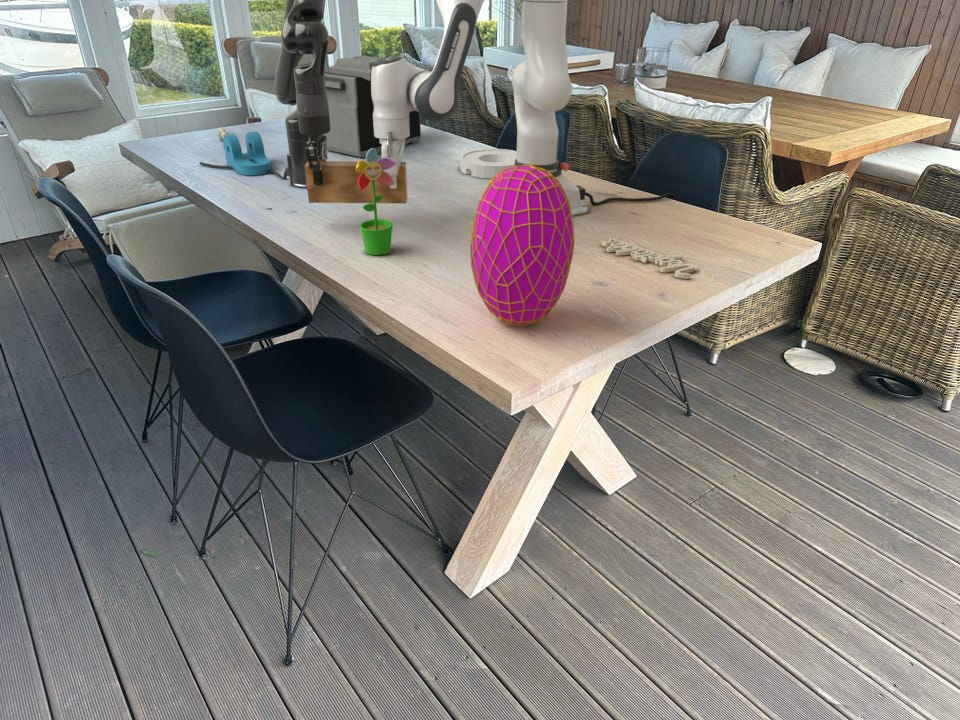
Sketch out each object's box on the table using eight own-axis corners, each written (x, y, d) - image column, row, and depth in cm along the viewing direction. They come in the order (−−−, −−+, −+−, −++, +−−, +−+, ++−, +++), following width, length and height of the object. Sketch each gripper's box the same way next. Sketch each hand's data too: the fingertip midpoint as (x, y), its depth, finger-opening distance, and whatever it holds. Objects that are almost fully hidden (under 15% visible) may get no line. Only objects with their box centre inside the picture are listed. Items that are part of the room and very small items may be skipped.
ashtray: (461, 159, 242) (461, 148, 240) (527, 160, 241) (527, 149, 239) (457, 177, 222) (457, 165, 220) (529, 179, 221) (529, 166, 219)
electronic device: (383, 133, 276) (378, 52, 261) (425, 141, 265) (422, 56, 250) (314, 150, 251) (304, 61, 235) (358, 160, 240) (350, 67, 224)
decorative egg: (525, 353, 124) (534, 190, 109) (449, 319, 135) (447, 167, 120) (586, 318, 136) (602, 167, 121) (512, 290, 148) (517, 148, 132)
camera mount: (227, 164, 233) (221, 132, 227) (257, 160, 238) (252, 129, 233) (244, 176, 220) (239, 143, 215) (276, 172, 225) (271, 139, 220)
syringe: (218, 132, 274) (216, 125, 272) (227, 131, 275) (226, 124, 274) (222, 147, 254) (220, 139, 252) (232, 146, 255) (231, 138, 254)
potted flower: (366, 259, 162) (357, 151, 149) (355, 248, 168) (346, 144, 155) (403, 252, 166) (398, 147, 153) (391, 242, 172) (385, 139, 159)
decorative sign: (710, 264, 159) (686, 276, 153) (709, 268, 159) (685, 280, 153) (618, 234, 175) (593, 244, 169) (618, 238, 176) (593, 247, 170)
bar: (308, 202, 175) (304, 165, 171) (312, 197, 179) (308, 160, 174) (406, 203, 176) (404, 166, 171) (407, 198, 180) (406, 161, 175)
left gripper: (323, 118, 160) (330, 190, 169) (333, 106, 173) (339, 174, 181) (291, 117, 160) (299, 190, 169) (303, 106, 172) (311, 174, 181)
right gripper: (401, 138, 160) (403, 196, 167) (407, 120, 177) (409, 173, 184) (373, 138, 160) (377, 196, 167) (383, 120, 177) (386, 173, 184)
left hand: (320, 181), depth 175 cm, fingers closed on bar, 4 cm apart
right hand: (394, 184), depth 176 cm, fingers closed on bar, 4 cm apart
